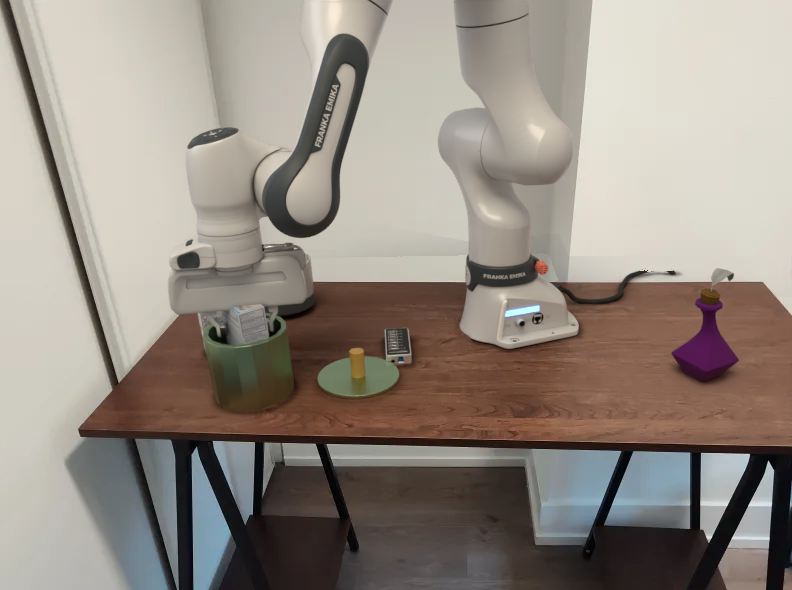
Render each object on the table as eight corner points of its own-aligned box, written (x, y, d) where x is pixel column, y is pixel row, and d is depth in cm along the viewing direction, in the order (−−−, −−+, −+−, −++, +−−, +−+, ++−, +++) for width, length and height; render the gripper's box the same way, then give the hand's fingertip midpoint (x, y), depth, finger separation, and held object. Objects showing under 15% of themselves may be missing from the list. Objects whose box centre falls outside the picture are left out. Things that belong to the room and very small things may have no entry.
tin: (293, 370, 118) (285, 309, 113) (295, 407, 108) (286, 342, 102) (219, 378, 117) (207, 316, 111) (213, 417, 106) (199, 350, 100)
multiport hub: (408, 338, 128) (408, 327, 127) (412, 366, 119) (411, 354, 117) (385, 339, 128) (384, 328, 127) (386, 367, 118) (385, 355, 117)
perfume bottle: (702, 389, 109) (724, 283, 100) (667, 370, 115) (685, 267, 106) (735, 377, 112) (760, 273, 103) (699, 359, 118) (719, 259, 109)
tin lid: (393, 358, 121) (391, 329, 118) (405, 397, 110) (404, 365, 107) (316, 366, 119) (312, 337, 116) (320, 406, 108) (316, 375, 105)
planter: (284, 292, 150) (278, 246, 145) (328, 304, 143) (323, 256, 138) (240, 312, 141) (232, 264, 136) (284, 326, 134) (277, 276, 129)
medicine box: (273, 357, 107) (265, 305, 102) (246, 365, 104) (237, 313, 100) (252, 339, 112) (244, 290, 108) (226, 347, 110) (217, 297, 106)
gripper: (302, 235, 104) (312, 318, 111) (163, 246, 101) (182, 330, 108) (304, 248, 99) (313, 334, 105) (157, 260, 96) (177, 348, 103)
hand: (246, 333), depth 107 cm, fingers closed on medicine box, 6 cm apart
